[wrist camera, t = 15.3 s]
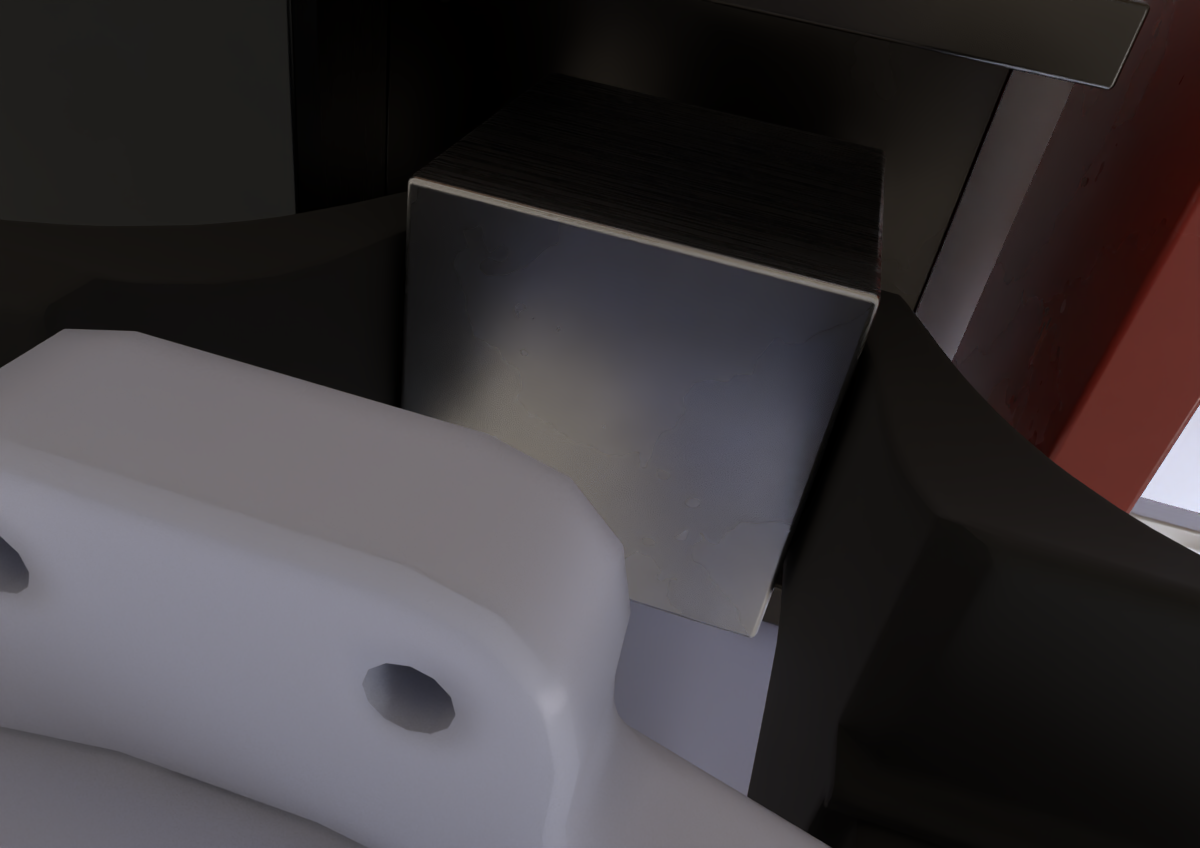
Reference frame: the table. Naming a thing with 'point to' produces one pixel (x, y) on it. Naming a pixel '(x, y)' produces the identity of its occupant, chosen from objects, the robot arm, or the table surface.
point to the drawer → (912, 166)
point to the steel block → (649, 319)
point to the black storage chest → (158, 111)
